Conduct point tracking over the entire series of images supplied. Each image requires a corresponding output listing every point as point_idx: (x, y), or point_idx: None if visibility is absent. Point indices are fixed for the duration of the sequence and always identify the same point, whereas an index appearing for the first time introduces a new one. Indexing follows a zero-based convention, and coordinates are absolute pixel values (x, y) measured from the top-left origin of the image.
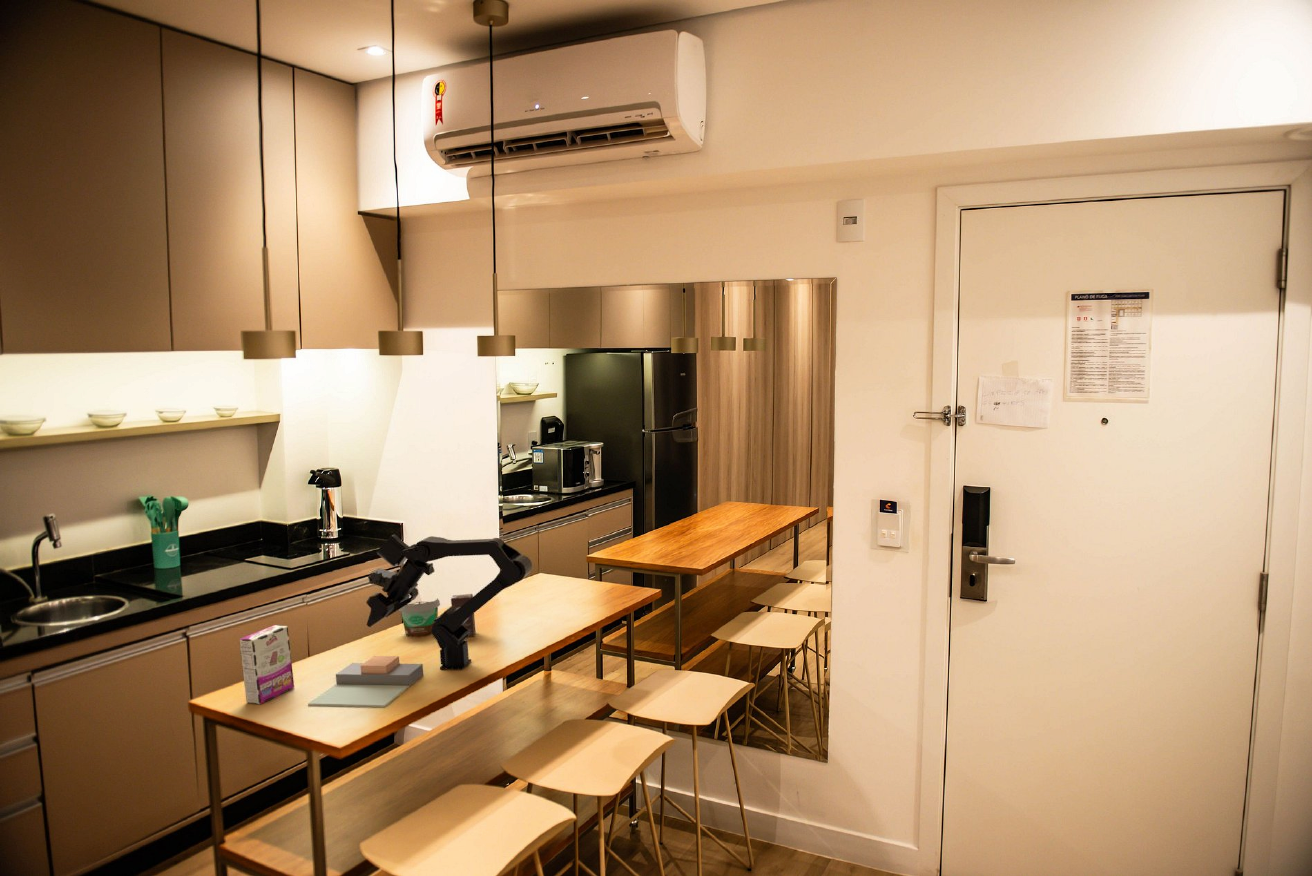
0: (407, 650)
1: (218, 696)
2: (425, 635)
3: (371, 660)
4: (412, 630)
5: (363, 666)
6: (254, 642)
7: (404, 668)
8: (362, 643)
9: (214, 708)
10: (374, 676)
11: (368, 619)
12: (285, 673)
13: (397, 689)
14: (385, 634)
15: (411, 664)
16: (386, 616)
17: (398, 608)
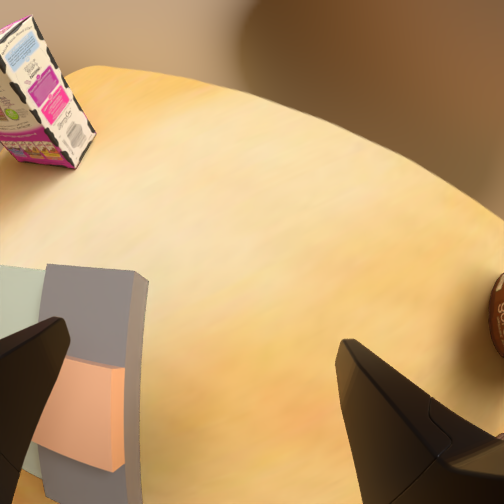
0: None
1: (87, 72)
2: (497, 349)
3: (66, 374)
4: (502, 311)
5: None
6: None
7: (86, 485)
8: (424, 179)
9: None
10: None
11: (11, 337)
12: (39, 141)
13: (33, 462)
14: (488, 215)
15: (120, 501)
16: (338, 365)
17: (364, 493)
